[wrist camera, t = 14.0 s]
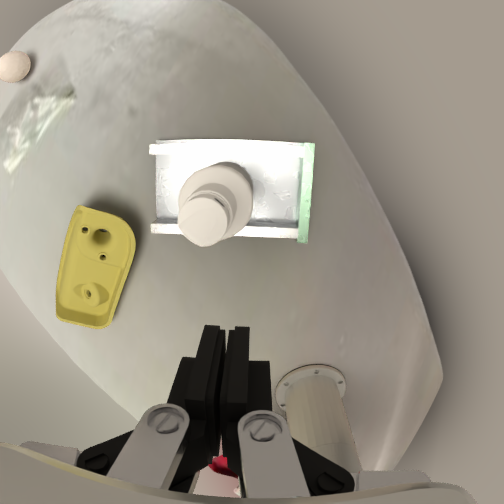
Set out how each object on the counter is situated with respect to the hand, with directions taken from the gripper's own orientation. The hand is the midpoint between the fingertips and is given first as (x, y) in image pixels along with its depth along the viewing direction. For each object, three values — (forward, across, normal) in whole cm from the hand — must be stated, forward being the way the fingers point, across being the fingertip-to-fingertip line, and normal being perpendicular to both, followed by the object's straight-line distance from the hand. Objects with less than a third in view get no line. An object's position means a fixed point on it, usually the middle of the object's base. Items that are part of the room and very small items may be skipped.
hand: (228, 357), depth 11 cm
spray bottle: (+28, +3, -3) cm, 29 cm away
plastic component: (+30, +22, +7) cm, 38 cm away
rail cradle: (+29, +3, -4) cm, 30 cm away
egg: (+29, +36, -25) cm, 53 cm away
